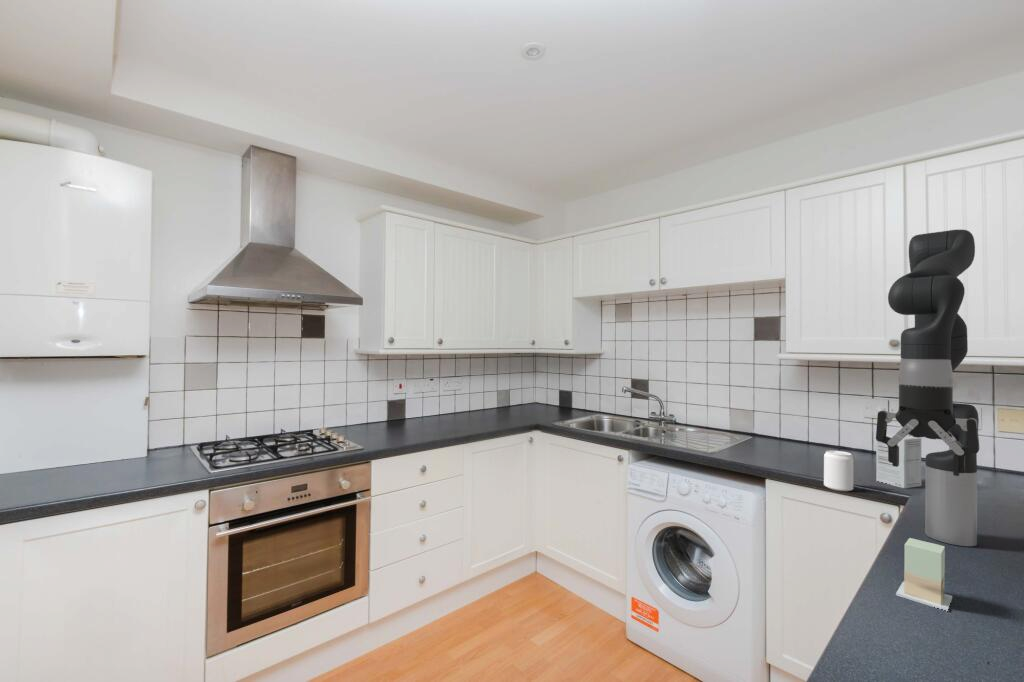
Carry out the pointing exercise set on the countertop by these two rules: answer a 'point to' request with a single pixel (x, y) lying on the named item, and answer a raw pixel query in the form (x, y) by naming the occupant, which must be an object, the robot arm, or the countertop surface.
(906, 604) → the countertop surface
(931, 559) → the sage block
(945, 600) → the white tile
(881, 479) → the supplement box
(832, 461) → the beverage can
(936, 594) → the maple block
